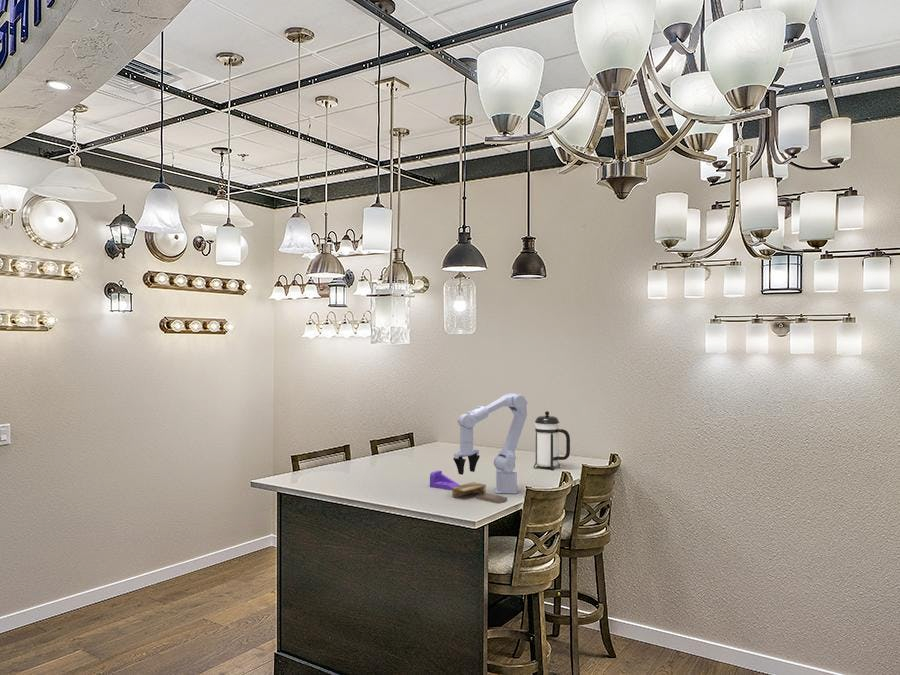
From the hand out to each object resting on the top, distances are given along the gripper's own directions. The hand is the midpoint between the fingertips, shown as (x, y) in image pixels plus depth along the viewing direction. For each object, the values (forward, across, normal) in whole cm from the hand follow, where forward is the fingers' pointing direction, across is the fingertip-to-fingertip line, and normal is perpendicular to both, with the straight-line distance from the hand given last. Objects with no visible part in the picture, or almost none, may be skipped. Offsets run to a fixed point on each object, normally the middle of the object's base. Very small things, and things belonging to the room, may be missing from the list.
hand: (466, 472), depth 287 cm
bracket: (+10, -5, -17) cm, 21 cm away
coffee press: (+10, -77, -8) cm, 78 cm away
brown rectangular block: (+10, 0, +2) cm, 10 cm away
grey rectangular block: (+10, -1, +13) cm, 17 cm away
